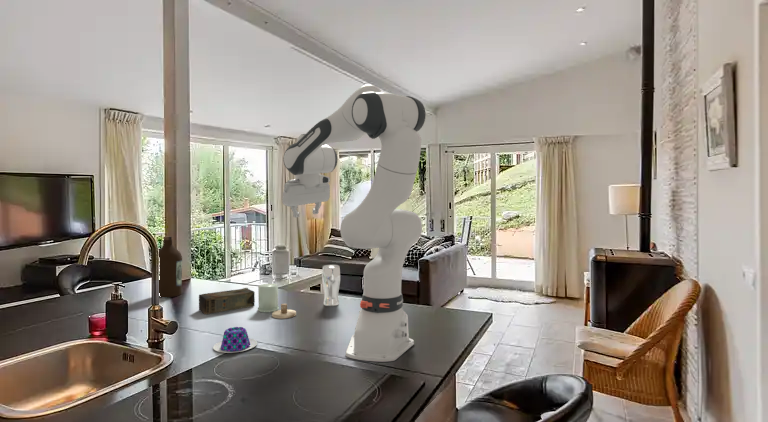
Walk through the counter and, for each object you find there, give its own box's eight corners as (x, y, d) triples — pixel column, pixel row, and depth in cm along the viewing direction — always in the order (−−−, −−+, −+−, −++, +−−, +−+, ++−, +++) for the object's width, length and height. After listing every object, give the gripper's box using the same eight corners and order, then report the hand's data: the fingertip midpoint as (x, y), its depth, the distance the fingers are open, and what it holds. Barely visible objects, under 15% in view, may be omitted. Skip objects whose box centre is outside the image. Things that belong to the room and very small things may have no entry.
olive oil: (152, 298, 182) (150, 238, 181) (159, 292, 192) (157, 235, 191) (180, 297, 184) (178, 237, 183) (185, 291, 195) (184, 234, 193)
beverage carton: (255, 306, 171) (255, 289, 171) (204, 316, 159) (204, 297, 158) (247, 302, 177) (247, 286, 177) (197, 311, 165) (197, 293, 164)
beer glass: (339, 306, 170) (338, 267, 169) (321, 306, 170) (320, 267, 169) (341, 301, 177) (341, 264, 176) (323, 301, 177) (323, 264, 176)
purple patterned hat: (206, 347, 128) (205, 329, 127) (245, 337, 136) (244, 320, 136) (224, 358, 119) (224, 339, 119) (264, 347, 127) (264, 329, 127)
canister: (272, 313, 161) (272, 288, 161) (253, 311, 163) (253, 287, 162) (282, 307, 168) (282, 284, 168) (264, 306, 170) (264, 283, 170)
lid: (289, 320, 153) (289, 308, 153) (267, 318, 156) (267, 306, 155) (300, 313, 162) (299, 302, 161) (279, 312, 164) (279, 300, 164)
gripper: (290, 181, 151) (289, 221, 154) (333, 177, 167) (331, 213, 170) (279, 178, 155) (278, 217, 158) (321, 175, 171) (320, 210, 174)
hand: (306, 215), depth 164 cm, fingers open, 8 cm apart
